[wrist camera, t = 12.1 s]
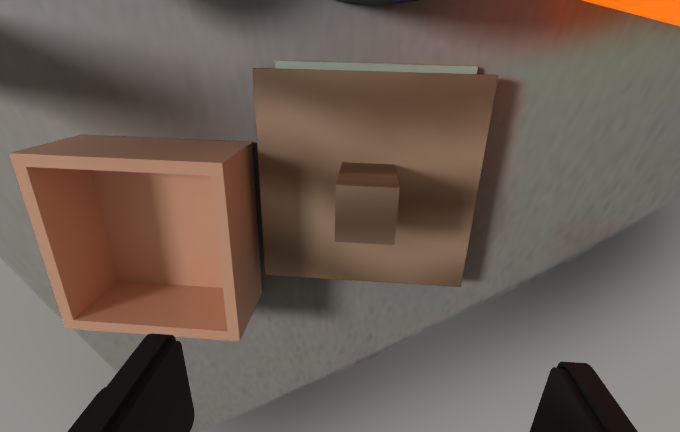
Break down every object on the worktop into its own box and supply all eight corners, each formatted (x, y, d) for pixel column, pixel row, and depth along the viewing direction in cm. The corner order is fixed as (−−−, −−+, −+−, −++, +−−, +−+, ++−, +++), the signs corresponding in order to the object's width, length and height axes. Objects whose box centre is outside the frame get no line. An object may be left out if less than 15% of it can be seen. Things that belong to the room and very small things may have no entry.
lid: (258, 67, 25) (223, 70, 19) (491, 74, 24) (531, 79, 18) (269, 265, 30) (245, 315, 24) (456, 276, 29) (478, 331, 24)
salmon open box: (80, 134, 28) (8, 153, 22) (252, 142, 27) (222, 163, 21) (116, 283, 33) (65, 328, 27) (262, 292, 32) (239, 341, 27)
